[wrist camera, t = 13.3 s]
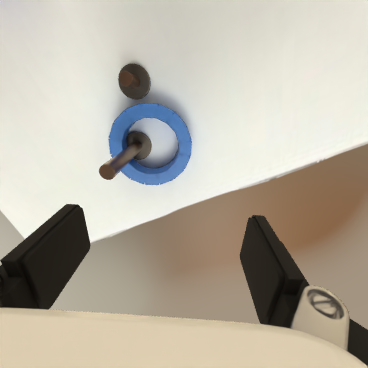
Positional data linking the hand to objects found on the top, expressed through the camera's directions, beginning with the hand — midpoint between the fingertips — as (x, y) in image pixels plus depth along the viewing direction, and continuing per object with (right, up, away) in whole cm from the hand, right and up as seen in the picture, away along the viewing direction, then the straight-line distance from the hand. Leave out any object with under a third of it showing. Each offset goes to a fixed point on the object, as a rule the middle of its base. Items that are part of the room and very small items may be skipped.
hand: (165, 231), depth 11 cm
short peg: (-7, +19, +19) cm, 27 cm away
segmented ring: (-4, +10, +22) cm, 25 cm away
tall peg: (-7, +10, +23) cm, 26 cm away
